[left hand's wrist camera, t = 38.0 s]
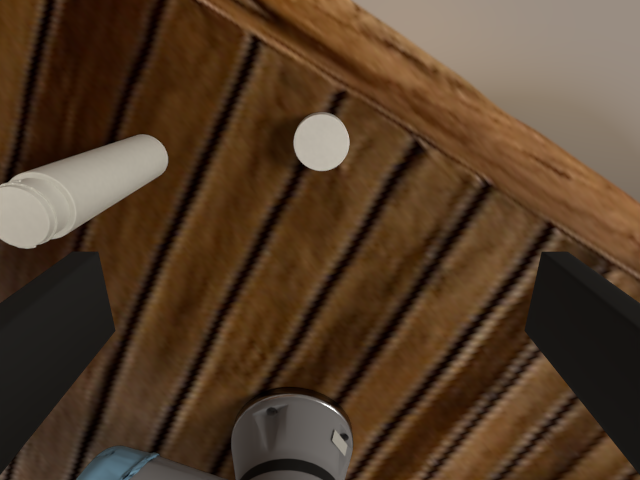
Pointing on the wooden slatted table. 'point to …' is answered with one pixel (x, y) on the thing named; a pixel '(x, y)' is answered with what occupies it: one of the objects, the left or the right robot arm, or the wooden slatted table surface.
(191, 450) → the wooden slatted table surface
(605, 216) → the wooden slatted table surface
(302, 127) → the lid
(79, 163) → the off-white cylindrical rod
